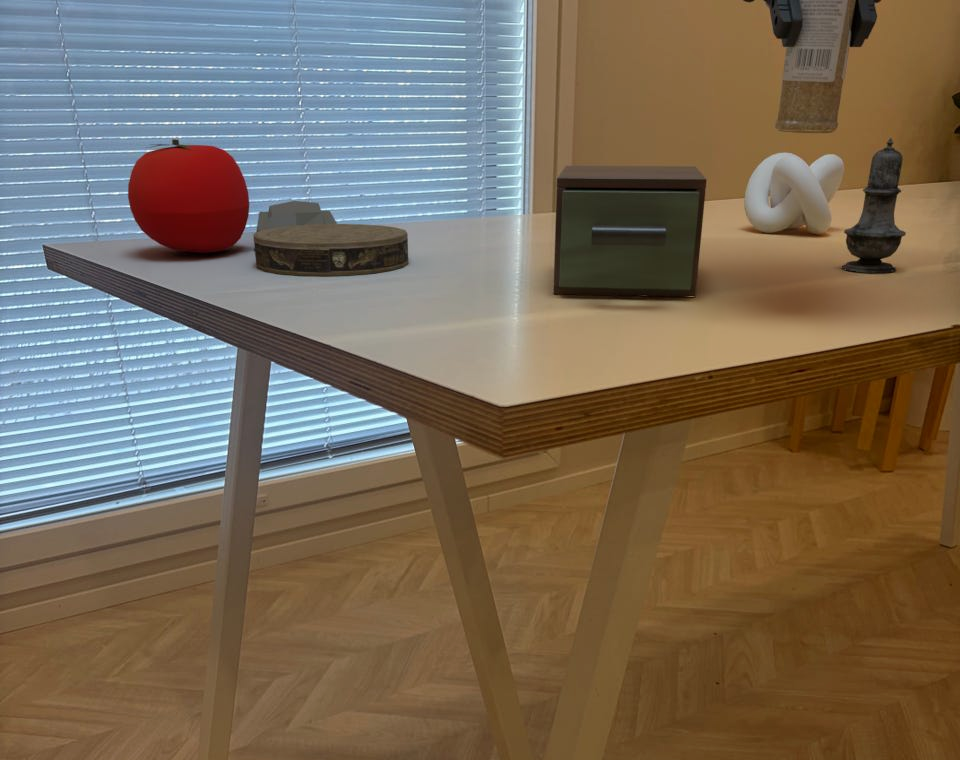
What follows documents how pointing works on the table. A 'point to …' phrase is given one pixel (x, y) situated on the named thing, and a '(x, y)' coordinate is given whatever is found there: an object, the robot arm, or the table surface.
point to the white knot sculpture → (793, 193)
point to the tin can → (331, 249)
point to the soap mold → (293, 215)
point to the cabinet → (631, 180)
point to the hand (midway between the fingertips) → (827, 36)
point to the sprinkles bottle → (816, 68)
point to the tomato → (189, 197)
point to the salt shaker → (877, 216)
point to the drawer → (628, 238)
